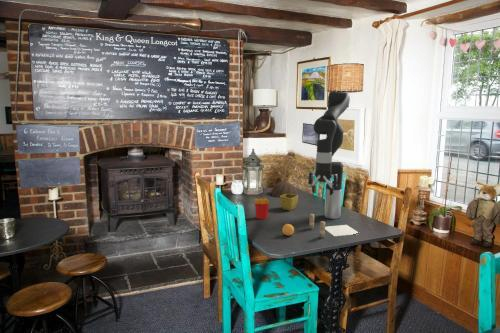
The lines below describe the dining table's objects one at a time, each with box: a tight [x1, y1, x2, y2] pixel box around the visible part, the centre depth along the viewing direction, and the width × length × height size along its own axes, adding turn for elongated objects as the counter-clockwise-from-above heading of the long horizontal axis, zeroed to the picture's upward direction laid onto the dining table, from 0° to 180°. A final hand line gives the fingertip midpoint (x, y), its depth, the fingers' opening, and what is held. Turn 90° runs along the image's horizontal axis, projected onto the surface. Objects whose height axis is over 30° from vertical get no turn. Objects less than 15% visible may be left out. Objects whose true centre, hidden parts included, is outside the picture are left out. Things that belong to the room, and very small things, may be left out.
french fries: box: [254, 197, 270, 220], centre depth 232 cm, size 8×4×12 cm, turn 94°
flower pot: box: [279, 194, 299, 211], centre depth 250 cm, size 9×9×9 cm
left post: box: [308, 213, 315, 230], centre depth 214 cm, size 3×3×8 cm
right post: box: [319, 220, 326, 239], centre depth 201 cm, size 3×3×8 cm
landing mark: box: [325, 224, 358, 238], centre depth 211 cm, size 15×15×1 cm
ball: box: [282, 223, 295, 237], centre depth 203 cm, size 6×6×6 cm
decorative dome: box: [270, 181, 299, 198], centre depth 289 cm, size 19×20×10 cm
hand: (322, 193), depth 193 cm, fingers open, 8 cm apart
